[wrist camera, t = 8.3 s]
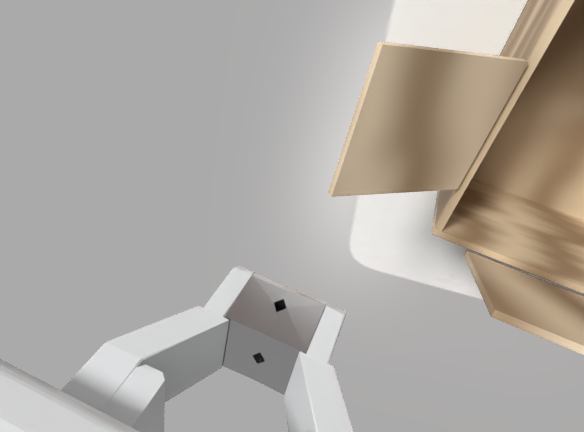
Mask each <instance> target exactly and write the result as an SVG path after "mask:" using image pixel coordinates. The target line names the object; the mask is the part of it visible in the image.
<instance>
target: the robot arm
mask: <svg viewBox="0 0 584 432" xmlns="http://www.w3.org/2000/svg"><path fill="white" fill-rule="evenodd" d="M326 304H327V305H326ZM324 309H325V310H324ZM345 316H346V311H345V310H343V309H341V308H338V307H336V306H333V305H331V304H329V303H326V302H324V301H322V300H319V299H317V298H314V297H312V296H309V295H307V294H305V293H302V292H300V291H297V290H295V289H292V288H289V287H287V286H284V285H282V284H280V283H278V282H275V281H273V280H271V279H269V278H267V277H264V276H262V275H260V274H258V273H255V272H252V271H250V270H248V269H246V268H244V267H241V266H239V265H237V266H235V267H234V268H233V269H232V270H231V271H230V273H229V274H228V276H227V277H226V278H225V279H224V281H223V282H222V284H221V285H220V286H219V288H218V289H217V290H216V292H215V293H214V294H213V296H212V297H211V298H210V300H209V301H208V302H207V304H206V305H205V306H204V308H202V307H200V306H196V307H194V308H191V309H189V310H186V311H184V312H181V313H178V314H176V315H174V316H171V317H168V318H166V319H164V320H161V321H158V322H156V323H153V324H151V325H148V326H146V327H143V328H141V329H138V330H135V331H133V332H130V333H128V334H125V335H123V336H120V337H118V338H115V339H113V340H110V341H108V342H105V343H104V344H103V345H102V347H101V348H100V349H99V350H98V351H97V352H96V353H95V354H94V355H93V356H92V358H90V359H89V361H88V362H87V363H86V364H85V365H84V366H83V367H82V368H81V369H80V370H79V371H78V372H77V374H76V375H75V376H74V377H73V378H72V379H71V380H70V381H69V382H68V383H67V384H66V385H65V386H64V387H63V389H62V390H59V389H57V388H55V387H53V386H51V385H49V384H47V383H45V382H44V381H42V380H40V379H38V378H36V377H34V376H32V375H30V374H28V373H26V372H24V371H22V370H21V369H18V368H17V367H15V366H13V365H11V364H9V363H7V362H5V361H3V360H1V359H0V432H164V403H165V402H166V401H168V400H170V399H171V398H173V397H175V396H176V395H178V394H180V393H181V392H183V391H184V390H186V389H188V388H189V387H191V386H193V385H194V384H196V383H197V382H199V381H201V380H202V379H204V378H206V377H207V376H209V375H211V374H212V373H214V372H216V371H217V370H218V369H221V367H222V366H224V367H227V368H229V369H231V370H233V371H236V372H238V373H240V374H243V375H245V376H247V377H249V378H252V379H254V380H256V381H258V382H260V383H262V384H264V385H266V386H268V387H270V388H272V389H274V390H276V391H278V392H280V393H282V394H284V401H285V409H286V416H287V425H288V432H353V429H352V426H351V422H350V419H349V415H348V412H347V409H346V405H345V402H344V398H343V395H342V391H341V388H340V384H339V381H338V378H337V374H336V371H335V367H333V366H331V365H329V362H330V359H331V356H332V353H333V350H334V347H335V344H336V342H337V339H338V336H339V333H340V330H341V327H342V324H343V321H344V319H345Z"/></svg>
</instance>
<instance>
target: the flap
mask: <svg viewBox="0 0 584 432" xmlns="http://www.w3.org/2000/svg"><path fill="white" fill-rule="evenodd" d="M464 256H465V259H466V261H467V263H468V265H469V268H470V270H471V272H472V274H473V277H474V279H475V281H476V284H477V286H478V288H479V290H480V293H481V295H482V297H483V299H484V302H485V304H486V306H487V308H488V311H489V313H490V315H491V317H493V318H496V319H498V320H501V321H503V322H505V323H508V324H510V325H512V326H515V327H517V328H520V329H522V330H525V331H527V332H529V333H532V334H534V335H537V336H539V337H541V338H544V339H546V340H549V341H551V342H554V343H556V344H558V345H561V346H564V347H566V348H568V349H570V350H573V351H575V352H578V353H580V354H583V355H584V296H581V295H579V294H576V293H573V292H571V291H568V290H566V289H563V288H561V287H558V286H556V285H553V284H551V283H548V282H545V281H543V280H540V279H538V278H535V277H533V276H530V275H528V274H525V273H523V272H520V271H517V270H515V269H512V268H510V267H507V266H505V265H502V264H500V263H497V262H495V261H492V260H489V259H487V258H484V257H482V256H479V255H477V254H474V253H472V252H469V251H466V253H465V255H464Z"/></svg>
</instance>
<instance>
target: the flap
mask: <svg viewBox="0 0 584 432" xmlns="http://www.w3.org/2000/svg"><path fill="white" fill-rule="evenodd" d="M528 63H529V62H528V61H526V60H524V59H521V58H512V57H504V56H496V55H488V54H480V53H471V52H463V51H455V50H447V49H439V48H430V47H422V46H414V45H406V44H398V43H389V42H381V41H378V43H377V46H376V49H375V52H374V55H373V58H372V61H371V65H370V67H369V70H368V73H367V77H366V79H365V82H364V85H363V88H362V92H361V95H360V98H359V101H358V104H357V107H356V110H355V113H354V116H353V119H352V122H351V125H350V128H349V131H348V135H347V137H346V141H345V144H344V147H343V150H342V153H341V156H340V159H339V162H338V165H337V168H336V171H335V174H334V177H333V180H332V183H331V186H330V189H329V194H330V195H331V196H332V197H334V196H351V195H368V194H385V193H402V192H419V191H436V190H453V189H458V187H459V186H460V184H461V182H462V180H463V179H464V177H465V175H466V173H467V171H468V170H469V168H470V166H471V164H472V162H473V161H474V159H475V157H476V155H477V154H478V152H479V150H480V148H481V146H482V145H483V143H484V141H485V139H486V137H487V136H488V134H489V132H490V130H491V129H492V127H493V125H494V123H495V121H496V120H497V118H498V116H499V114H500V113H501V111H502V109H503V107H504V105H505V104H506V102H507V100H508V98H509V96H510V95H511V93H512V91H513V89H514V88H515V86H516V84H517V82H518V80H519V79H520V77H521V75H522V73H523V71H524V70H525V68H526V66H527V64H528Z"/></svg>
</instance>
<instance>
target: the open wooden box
mask: <svg viewBox="0 0 584 432" xmlns="http://www.w3.org/2000/svg"><path fill="white" fill-rule="evenodd" d="M500 56H504V57H512V58H521V59H524V60H526V61H528V62H529V63H528V64H527V66H526V68H525V70H524V71H523V73H522V75H521V77H520V79H519V80H518V82H517V84H516V86H515V88H514V89H513V91H512V93H511V95H510V96H509V98H508V100H507V102H506V104H505V105H504V107H503V109H502V111H501V113H500V114H499V116H498V118H497V120H496V121H495V123H494V125H493V127H492V129H491V130H490V132H489V134H488V136H487V137H486V139H485V141H484V143H483V145H482V146H481V148H480V150H479V152H478V154H477V155H476V157H475V159H474V161H473V162H472V164H471V166H470V168H469V170H468V171H467V173H466V175H465V177H464V179H463V180H462V182H461V184H460V186H459V187H458V189H453V190H438V192H437V199H436V206H435V213H434V219H433V226H432V233H431V234H432V235H435V236H438V237H440V238H443V239H445V240H448V241H450V242H453V243H455V244H458V245H460V246H463V247H466V248H468V249H471V250H473V251H476V252H478V253H481V254H483V255H486V256H489V257H491V258H494V259H496V260H499V261H501V262H504V263H506V264H509V265H512V266H514V267H517V268H519V269H522V270H524V271H527V272H529V273H532V274H534V275H537V276H540V277H542V278H545V279H547V280H550V281H552V282H555V283H557V284H560V285H563V286H565V287H568V288H570V289H573V290H575V291H578V292H580V293H583V294H584V0H528V1H527V3H526V5H525V7H524V9H523V11H522V13H521V15H520V17H519V19H518V21H517V23H516V25H515V27H514V29H513V31H512V32H511V34H510V36H509V38H508V40H507V42H506V44H505V46H504V48H503V50H502V52H501V54H500Z"/></svg>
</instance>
